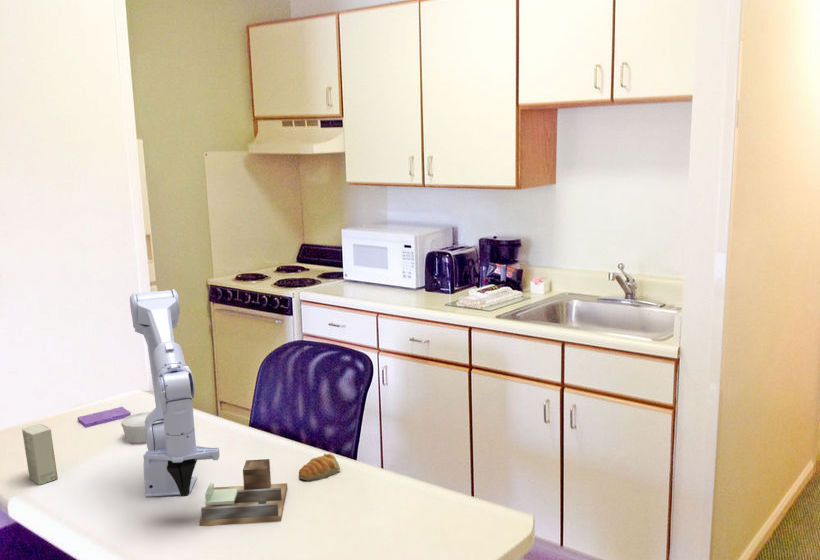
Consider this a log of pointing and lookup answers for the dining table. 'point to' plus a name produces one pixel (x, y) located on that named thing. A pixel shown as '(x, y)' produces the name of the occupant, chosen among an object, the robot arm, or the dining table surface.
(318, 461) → the pastry
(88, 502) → the dining table surface
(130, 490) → the dining table surface
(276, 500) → the board
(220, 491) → the cover
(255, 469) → the brown block
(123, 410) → the purple flat block
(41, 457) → the skincare box
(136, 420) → the ramekin
